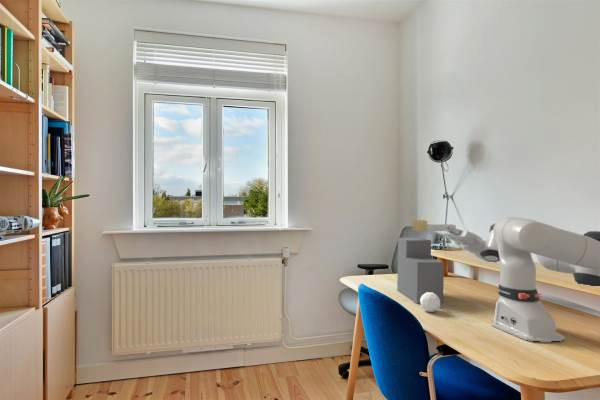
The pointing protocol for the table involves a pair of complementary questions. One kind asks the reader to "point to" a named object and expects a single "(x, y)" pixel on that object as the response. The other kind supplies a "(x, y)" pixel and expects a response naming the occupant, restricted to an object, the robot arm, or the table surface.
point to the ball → (430, 302)
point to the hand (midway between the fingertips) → (446, 226)
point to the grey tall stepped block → (418, 269)
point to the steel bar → (430, 226)
